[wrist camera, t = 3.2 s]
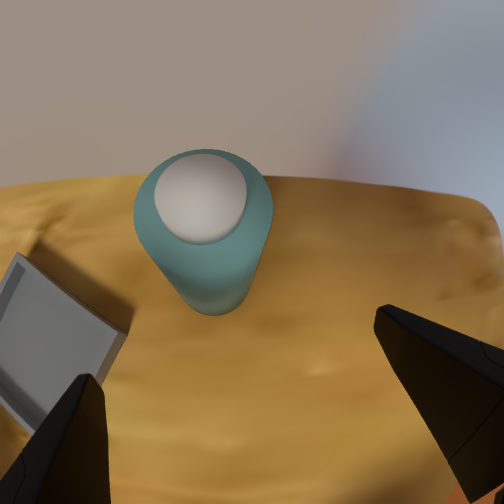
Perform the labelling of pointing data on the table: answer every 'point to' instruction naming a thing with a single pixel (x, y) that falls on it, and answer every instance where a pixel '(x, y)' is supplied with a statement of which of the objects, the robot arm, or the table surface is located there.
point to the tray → (47, 342)
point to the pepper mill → (205, 226)
